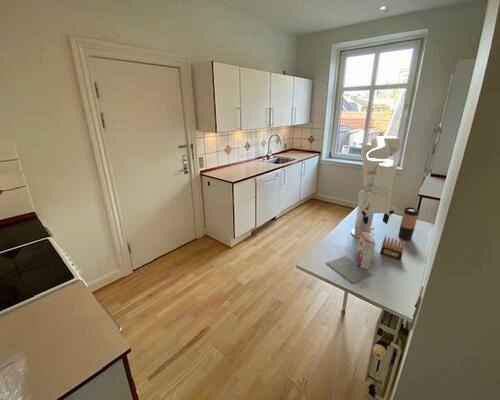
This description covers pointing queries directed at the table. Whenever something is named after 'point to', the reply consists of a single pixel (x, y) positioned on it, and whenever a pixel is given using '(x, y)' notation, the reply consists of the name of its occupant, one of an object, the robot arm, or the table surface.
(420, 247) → the table surface
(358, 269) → the mat
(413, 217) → the travel mug
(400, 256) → the ammunition clip
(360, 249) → the candy bar box
